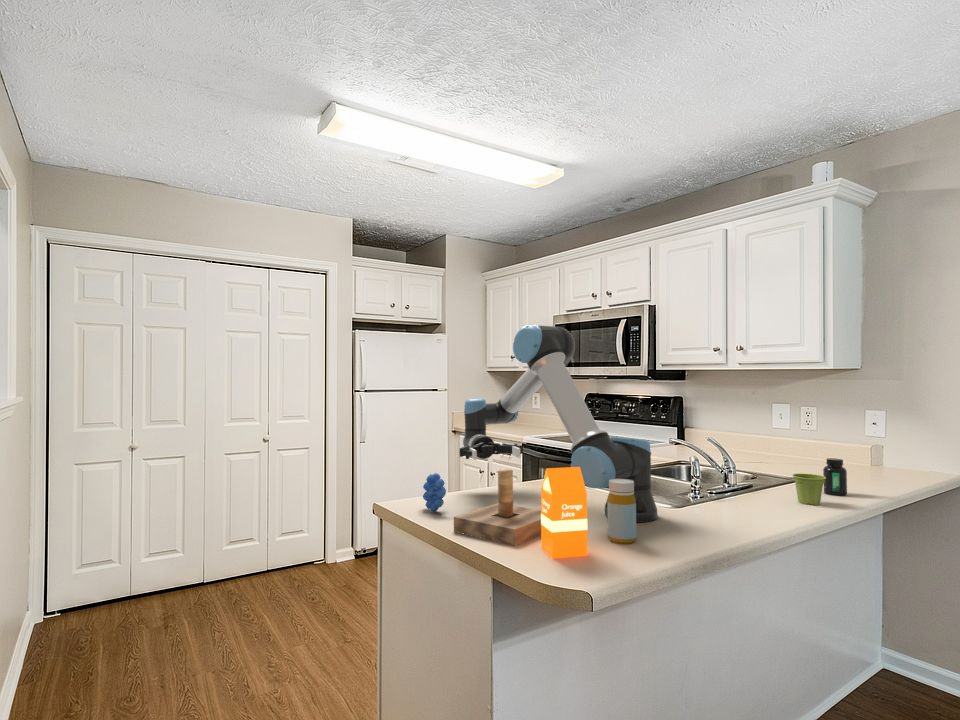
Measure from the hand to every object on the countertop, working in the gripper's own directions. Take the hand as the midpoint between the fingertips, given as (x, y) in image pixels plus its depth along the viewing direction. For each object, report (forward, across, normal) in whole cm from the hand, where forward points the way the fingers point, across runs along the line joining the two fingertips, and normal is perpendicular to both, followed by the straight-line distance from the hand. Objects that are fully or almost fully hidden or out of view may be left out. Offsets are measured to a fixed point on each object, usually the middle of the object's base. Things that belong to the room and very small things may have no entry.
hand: (497, 454), depth 170 cm
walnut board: (+16, +2, -18) cm, 24 cm away
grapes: (-9, +17, -18) cm, 27 cm away
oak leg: (+16, +2, -18) cm, 24 cm away
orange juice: (+38, -6, -19) cm, 42 cm away
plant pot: (+10, -101, -19) cm, 103 cm away
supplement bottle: (+1, -120, -19) cm, 121 cm away
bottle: (+32, -24, -19) cm, 44 cm away
